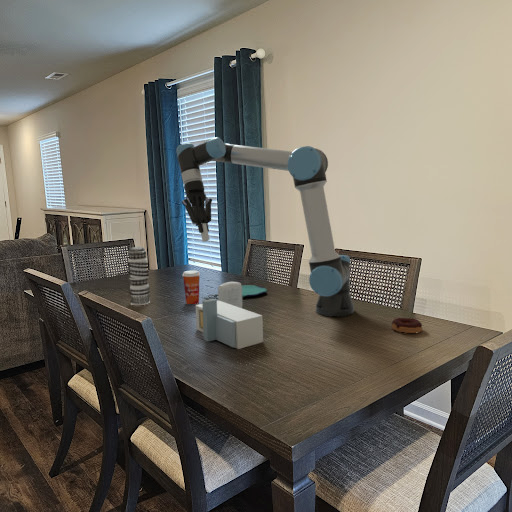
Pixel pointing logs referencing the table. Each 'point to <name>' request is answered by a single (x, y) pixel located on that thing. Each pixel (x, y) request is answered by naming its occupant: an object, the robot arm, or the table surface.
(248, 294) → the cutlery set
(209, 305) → the side door
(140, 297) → the decorative candle
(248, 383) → the table surface
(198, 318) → the white rectangular block
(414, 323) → the donut
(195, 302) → the paper cup
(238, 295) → the grey gravestone
